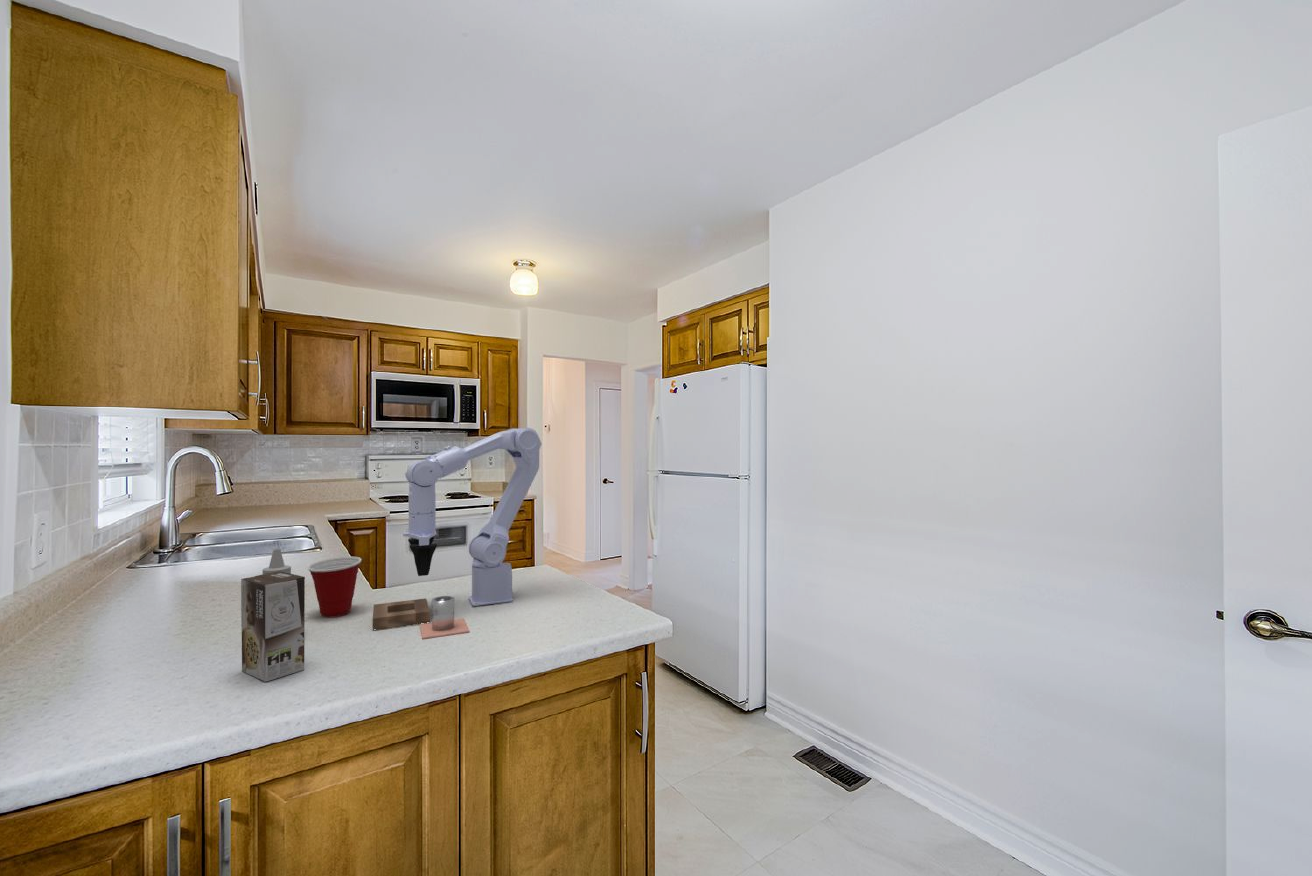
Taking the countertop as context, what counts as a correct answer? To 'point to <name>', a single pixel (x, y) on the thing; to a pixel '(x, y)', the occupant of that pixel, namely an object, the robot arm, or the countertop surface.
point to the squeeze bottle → (277, 563)
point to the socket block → (400, 613)
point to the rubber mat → (458, 628)
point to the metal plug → (442, 613)
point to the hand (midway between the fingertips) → (422, 571)
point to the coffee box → (272, 625)
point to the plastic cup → (335, 584)
